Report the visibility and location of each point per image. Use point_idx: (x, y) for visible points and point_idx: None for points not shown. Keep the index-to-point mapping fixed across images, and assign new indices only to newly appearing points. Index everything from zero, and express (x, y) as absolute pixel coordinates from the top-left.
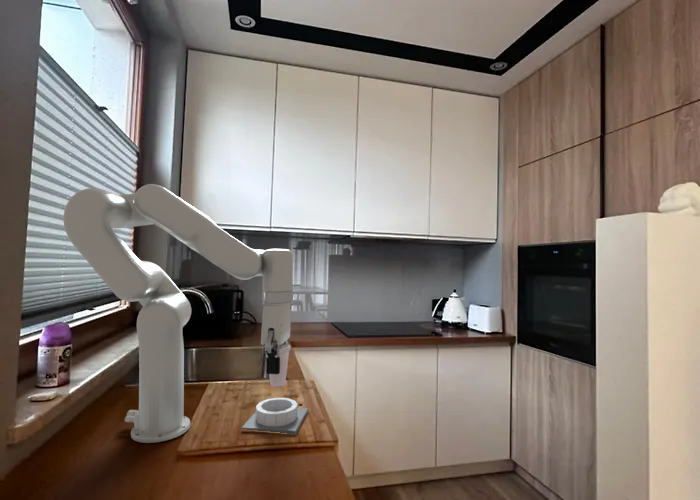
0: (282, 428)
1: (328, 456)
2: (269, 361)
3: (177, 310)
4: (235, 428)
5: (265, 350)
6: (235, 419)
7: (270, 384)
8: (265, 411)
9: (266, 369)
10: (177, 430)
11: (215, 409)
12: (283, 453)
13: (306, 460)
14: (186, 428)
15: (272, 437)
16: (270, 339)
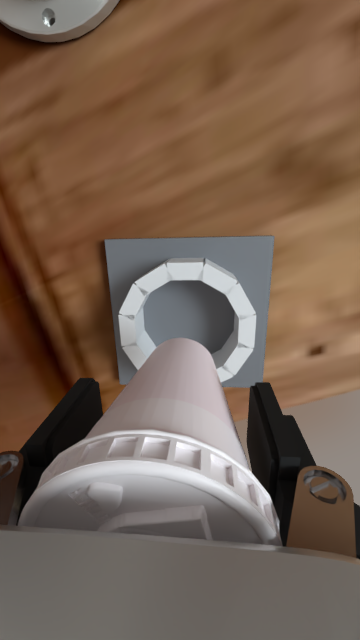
0: (124, 352)
1: None
2: (24, 450)
3: None
4: (124, 209)
5: (75, 448)
6: (183, 178)
7: (161, 343)
8: (131, 310)
9: (71, 388)
10: (20, 11)
11: (261, 39)
12: (42, 373)
13: (34, 418)
14: (52, 36)
15: (100, 330)
16: None
